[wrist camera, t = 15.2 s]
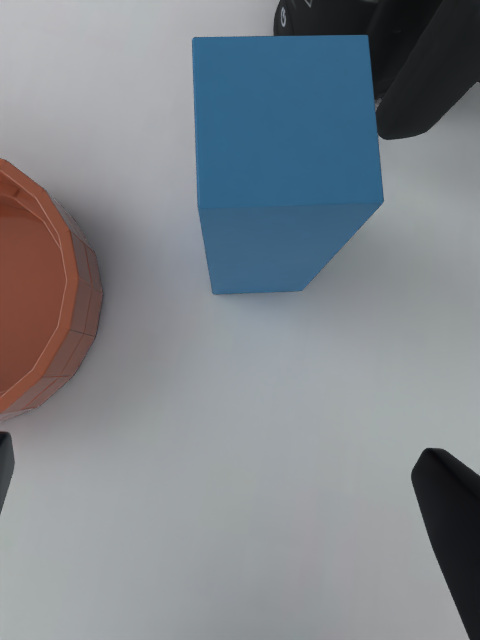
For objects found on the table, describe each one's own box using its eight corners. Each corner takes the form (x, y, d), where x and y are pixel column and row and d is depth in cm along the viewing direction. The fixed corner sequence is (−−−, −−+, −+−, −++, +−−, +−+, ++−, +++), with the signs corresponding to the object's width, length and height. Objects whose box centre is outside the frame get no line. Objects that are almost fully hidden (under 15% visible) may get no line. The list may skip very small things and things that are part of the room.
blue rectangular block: (302, 291, 23) (385, 202, 11) (212, 294, 23) (197, 207, 11) (296, 205, 23) (369, 33, 12) (209, 208, 23) (191, 35, 11)
